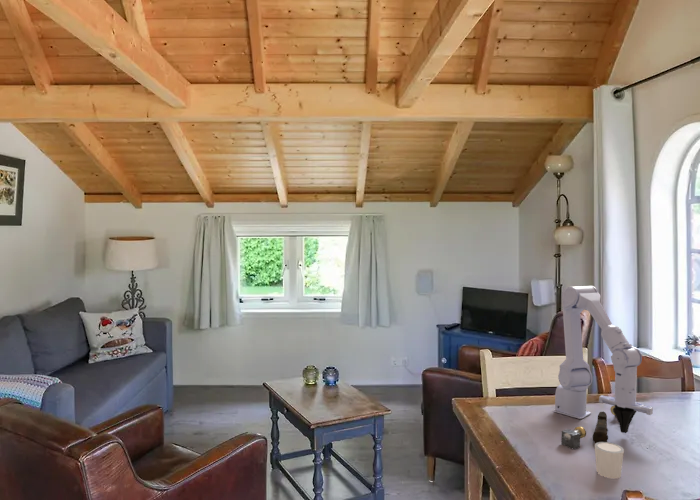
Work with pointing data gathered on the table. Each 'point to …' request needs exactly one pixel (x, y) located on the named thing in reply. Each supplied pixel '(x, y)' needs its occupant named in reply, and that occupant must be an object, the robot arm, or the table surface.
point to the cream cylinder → (609, 459)
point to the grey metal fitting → (573, 437)
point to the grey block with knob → (612, 410)
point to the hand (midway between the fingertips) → (624, 431)
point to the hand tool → (601, 429)
